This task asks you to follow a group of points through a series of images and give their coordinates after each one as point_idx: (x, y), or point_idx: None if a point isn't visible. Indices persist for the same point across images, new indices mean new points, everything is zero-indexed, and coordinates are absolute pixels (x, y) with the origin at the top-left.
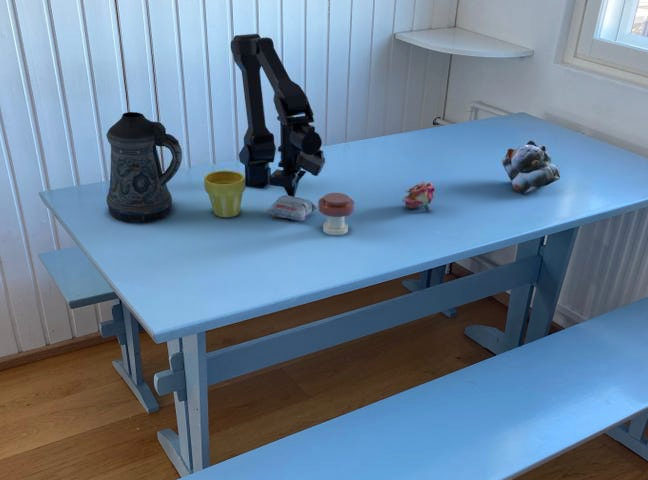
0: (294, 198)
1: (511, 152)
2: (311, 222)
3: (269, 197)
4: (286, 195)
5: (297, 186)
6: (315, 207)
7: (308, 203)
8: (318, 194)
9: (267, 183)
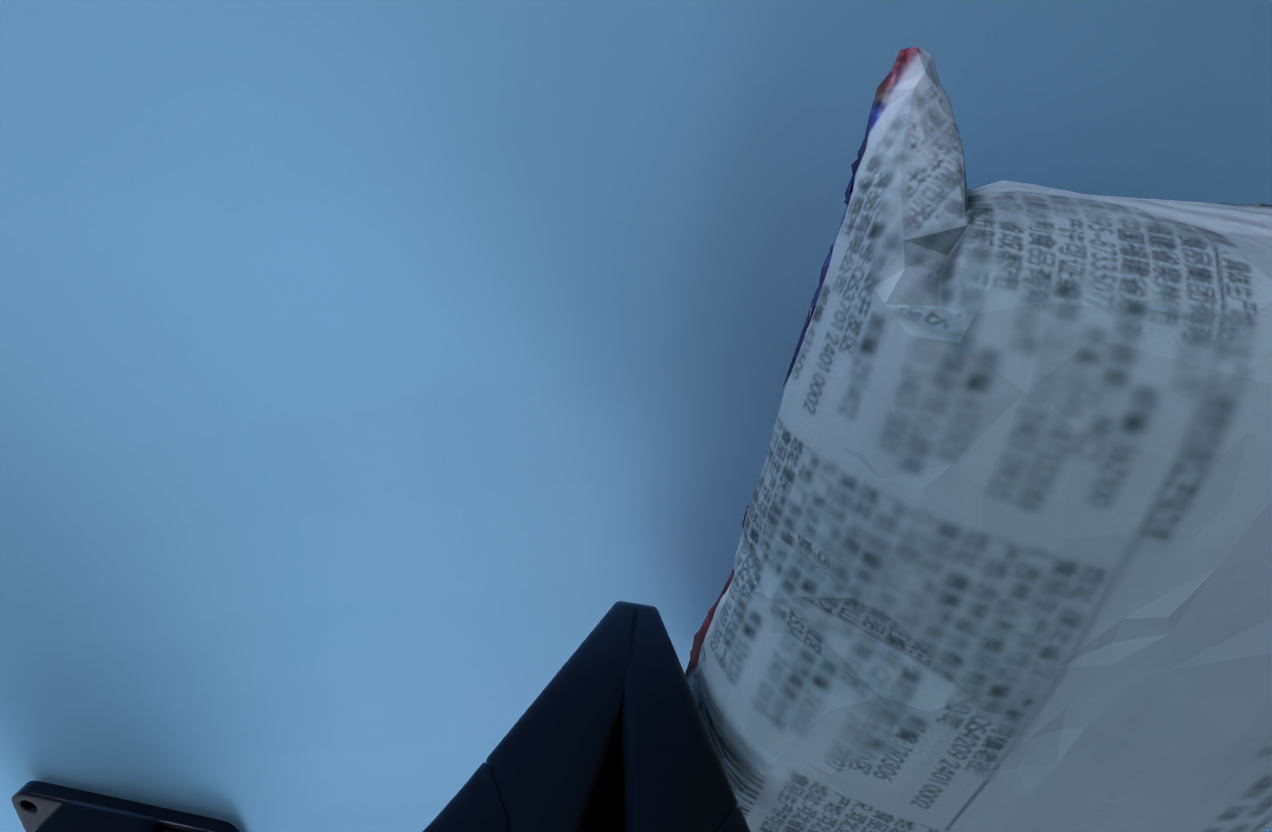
0: (1066, 700)
1: None
2: (1216, 132)
3: (416, 765)
4: (789, 808)
5: (487, 765)
6: (950, 104)
7: (1193, 297)
8: (15, 237)
9: (149, 829)
